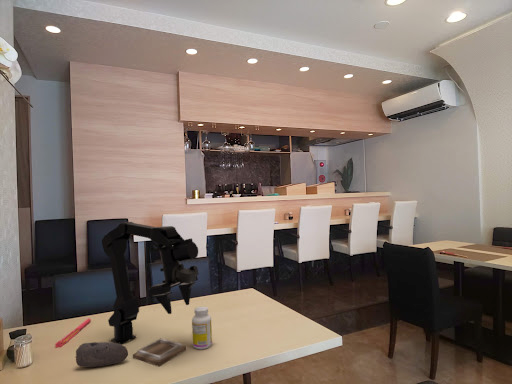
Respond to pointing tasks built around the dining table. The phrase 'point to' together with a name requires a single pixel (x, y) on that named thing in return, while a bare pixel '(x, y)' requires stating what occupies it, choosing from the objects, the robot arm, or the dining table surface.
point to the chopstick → (72, 333)
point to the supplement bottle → (201, 328)
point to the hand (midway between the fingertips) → (179, 309)
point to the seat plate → (159, 352)
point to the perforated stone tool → (100, 354)
